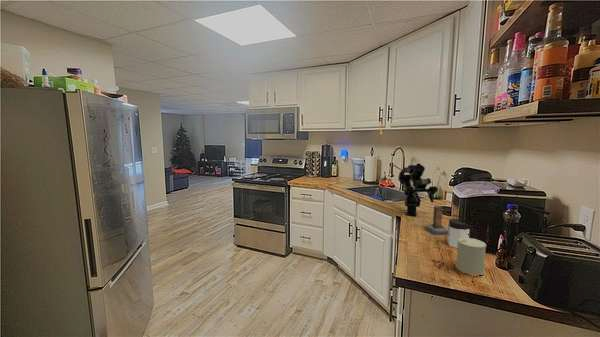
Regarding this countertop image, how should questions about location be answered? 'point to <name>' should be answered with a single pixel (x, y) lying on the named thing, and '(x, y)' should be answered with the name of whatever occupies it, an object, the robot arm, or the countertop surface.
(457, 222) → the jar
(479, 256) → the can
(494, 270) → the countertop surface
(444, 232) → the square frame on plate
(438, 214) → the walnut stick
